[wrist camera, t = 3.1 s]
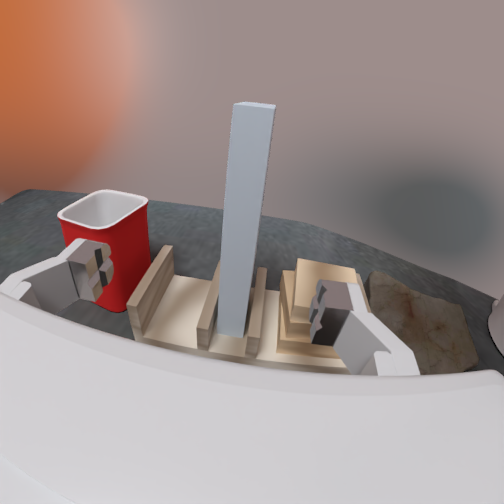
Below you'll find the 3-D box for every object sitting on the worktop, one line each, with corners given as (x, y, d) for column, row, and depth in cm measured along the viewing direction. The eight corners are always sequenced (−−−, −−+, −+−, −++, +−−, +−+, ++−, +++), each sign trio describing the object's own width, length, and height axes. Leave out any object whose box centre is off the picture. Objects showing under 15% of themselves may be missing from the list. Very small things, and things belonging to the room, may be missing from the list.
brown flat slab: (361, 287, 38) (370, 262, 36) (445, 310, 35) (458, 289, 33) (354, 384, 24) (371, 359, 22) (465, 402, 21) (487, 380, 19)
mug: (159, 277, 35) (154, 198, 29) (121, 319, 28) (102, 232, 22) (94, 253, 37) (83, 184, 31) (55, 284, 30) (34, 210, 25)
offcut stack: (337, 302, 32) (352, 262, 29) (347, 359, 25) (369, 317, 22) (276, 295, 32) (285, 252, 29) (273, 352, 25) (285, 308, 22)
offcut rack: (344, 309, 33) (359, 273, 30) (356, 376, 25) (379, 341, 22) (167, 283, 34) (164, 244, 31) (136, 344, 25) (126, 304, 23)
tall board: (249, 300, 31) (276, 105, 20) (242, 338, 26) (274, 108, 16) (226, 296, 31) (244, 101, 20) (216, 333, 26) (233, 104, 16)
